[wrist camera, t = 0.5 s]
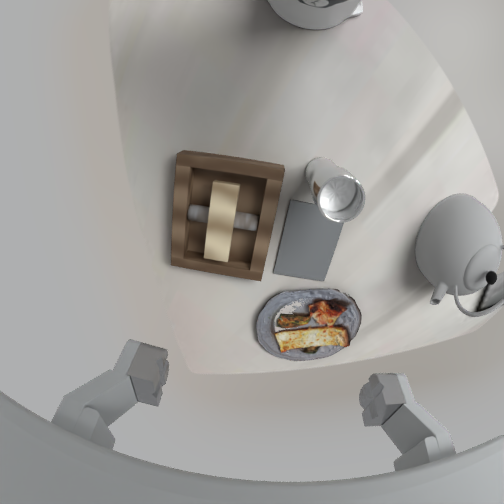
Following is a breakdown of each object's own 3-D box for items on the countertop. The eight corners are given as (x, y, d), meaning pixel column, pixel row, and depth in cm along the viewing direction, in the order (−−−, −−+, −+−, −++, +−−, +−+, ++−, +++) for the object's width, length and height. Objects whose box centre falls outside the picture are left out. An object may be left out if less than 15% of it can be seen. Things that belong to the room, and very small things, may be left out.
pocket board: (183, 150, 47) (176, 153, 43) (283, 165, 47) (284, 170, 44) (176, 255, 57) (171, 265, 54) (261, 270, 58) (260, 281, 55)
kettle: (426, 301, 60) (463, 366, 41) (390, 242, 53) (439, 312, 34) (493, 243, 51) (544, 293, 31) (470, 173, 44) (540, 214, 24)
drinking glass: (295, 179, 48) (305, 207, 35) (316, 147, 45) (335, 163, 32) (326, 198, 50) (346, 233, 37) (347, 168, 47) (376, 192, 34)
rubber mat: (290, 199, 50) (290, 200, 50) (346, 211, 51) (346, 211, 50) (273, 272, 58) (273, 273, 58) (323, 280, 58) (323, 281, 58)
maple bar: (214, 180, 46) (212, 181, 45) (240, 184, 47) (239, 185, 45) (205, 253, 52) (203, 258, 50) (228, 258, 52) (227, 262, 51)
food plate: (365, 280, 58) (369, 290, 55) (352, 349, 69) (354, 359, 66) (252, 286, 61) (251, 296, 58) (261, 354, 72) (260, 364, 69)
